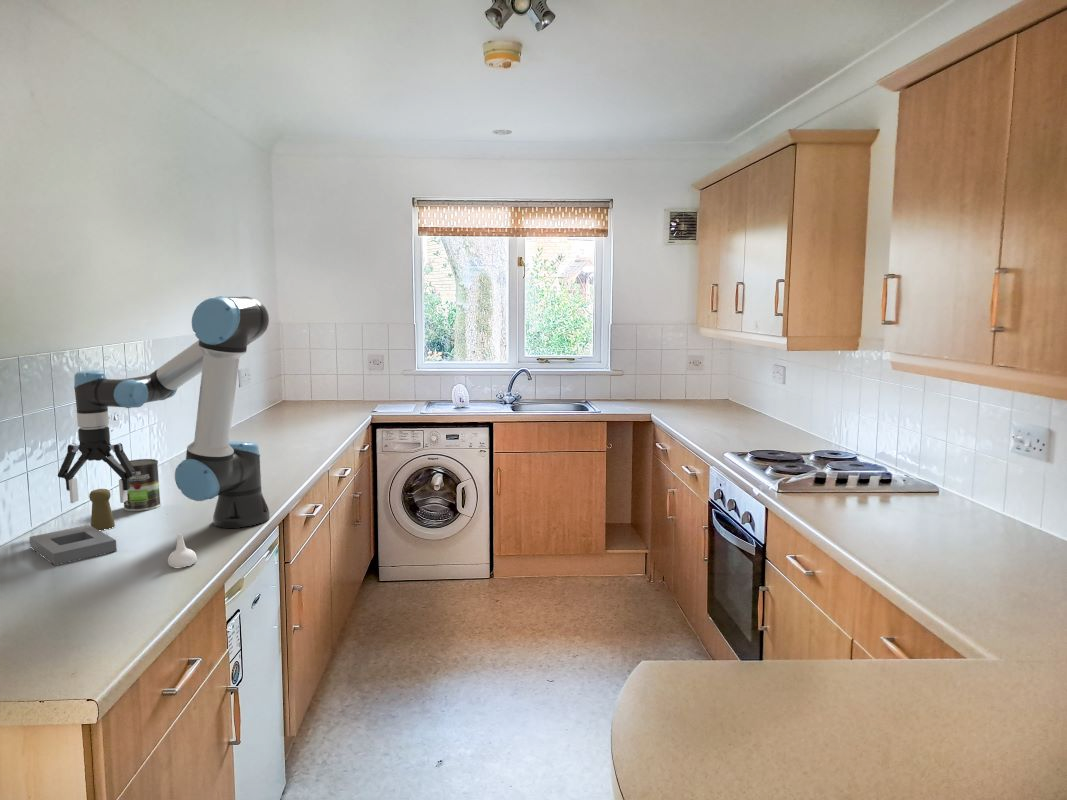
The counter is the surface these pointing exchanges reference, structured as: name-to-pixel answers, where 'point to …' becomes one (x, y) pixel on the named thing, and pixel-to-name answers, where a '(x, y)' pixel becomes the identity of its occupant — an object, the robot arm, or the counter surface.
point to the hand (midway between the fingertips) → (99, 501)
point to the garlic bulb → (181, 554)
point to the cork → (101, 509)
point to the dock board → (72, 544)
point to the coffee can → (143, 486)
